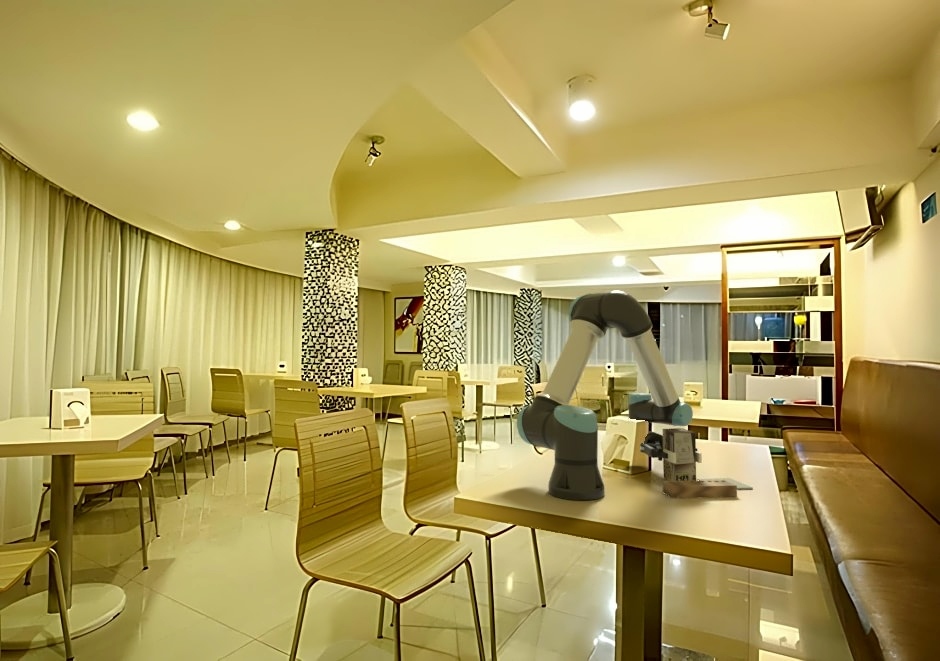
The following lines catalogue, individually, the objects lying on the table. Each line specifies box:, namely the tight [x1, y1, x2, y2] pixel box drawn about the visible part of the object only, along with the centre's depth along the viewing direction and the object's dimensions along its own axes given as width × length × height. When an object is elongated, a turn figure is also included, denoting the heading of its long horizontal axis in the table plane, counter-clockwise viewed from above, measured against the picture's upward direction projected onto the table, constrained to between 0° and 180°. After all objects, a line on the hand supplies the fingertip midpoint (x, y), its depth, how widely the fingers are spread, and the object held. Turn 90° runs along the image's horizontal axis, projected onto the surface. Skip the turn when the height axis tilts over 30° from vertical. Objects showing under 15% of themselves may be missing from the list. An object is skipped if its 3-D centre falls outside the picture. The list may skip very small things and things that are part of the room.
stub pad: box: [696, 477, 753, 490], centre depth 152 cm, size 10×11×1 cm
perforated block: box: [662, 479, 738, 499], centre depth 141 cm, size 18×6×3 cm, turn 95°
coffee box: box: [662, 427, 697, 482], centre depth 150 cm, size 9×6×16 cm
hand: (687, 458), depth 145 cm, fingers closed on coffee box, 7 cm apart
